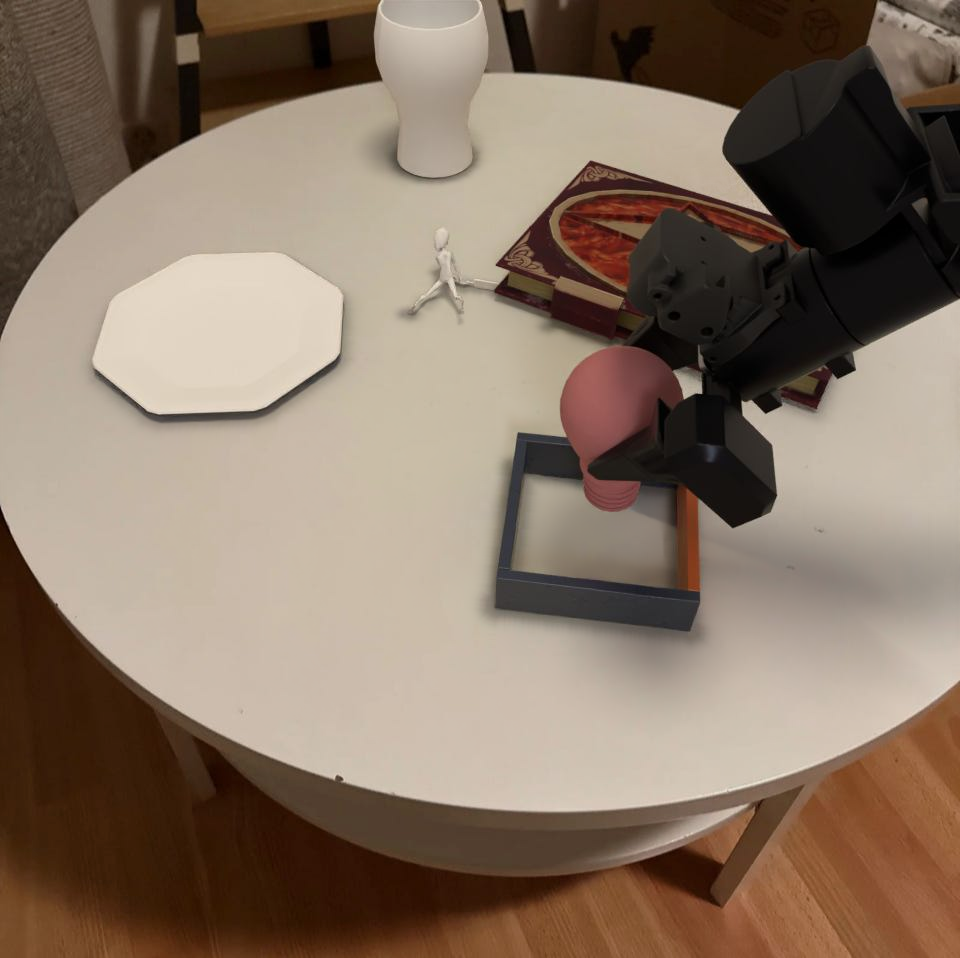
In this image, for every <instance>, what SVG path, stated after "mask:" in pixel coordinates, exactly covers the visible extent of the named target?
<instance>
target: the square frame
mask: <svg viewBox="0 0 960 958" xmlns="http://www.w3.org/2000/svg"><path fill="white" fill-rule="evenodd" d="M511 466H512V467H511V473H510V479H509V480H510V481H509V486H508V487H509V488H508V494H507V495H508V496H507V499H506V508H505V514H504V521H503V529H502V535H501V540H500V541H501V542H500V549H499V554H498V563H497V570H496V576H495V596H494V609H497V610H504V611H512V612H513V611H514V612H522V613H530V614H531V613H532V614H539V615H545V616H547V615H548V616H555V617H564V618H573V619H582V620H589V621H598V622H606V623H613V624H623V625H630V626H631V625H632V626H640V627H649V628H657V629H658V628H659V629H666V630H674V631H683V632H691V630H692V627H693V625H694V621H695V620H696V616H697V613H698V610H699V607H700V604H701V573H700V572H701V569H700V566H701V565H700V532H699V531H700V529H699V528H700V527H699V499H698V498H697V497H696V496H695V495H694V494H693V493H692V492H690V491H689V490H688V489H687V488H686V487H685V486H684V485H682V484H676V483H665V482H641V484H640V486H643V487H651V488H653V487H654V488H661V489H662V488H663V489H670V490H676V545H677V546H676V547H677V551H676V553H677V554H676V555H677V563H676V565H677V567H676V569H677V571H676V572H677V588H668V587H660V586H651V585H643V584H634V583H627V582H626V583H625V582H617V581H607V580H600V579H591V578H582V577H574V576H573V577H572V576H565V575H556V574H547V573H539V572H530V571H521V570H513V567H514V560H515V554H516V545H517V539H518V538H517V537H518V530H519V521H520V515H521V509H522V500H523V492H524V486H525V478H526V474H530V475H539V476H540V475H541V476H549V477H550V476H551V477H558V478H566V479H576V480H577V479H578V480H583V472H582V471H581V467H580V457H579V456H578V455H577V453H576V452H575V450H574V449H573V447H572V445H571V443H570V442H569V440H568V438H567V436H558V435H548V434H541V433H540V434H539V433H538V434H537V433H530V432H522V431H521V432H520V431H517V433H516V439H515V446H514V453H513V460H512V465H511Z"/></svg>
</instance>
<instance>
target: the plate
mask: <svg viewBox="0 0 960 958" xmlns="http://www.w3.org/2000/svg"><path fill="white" fill-rule="evenodd" d="M344 297H345V296H344V293H343V291H342V290H341V288H339V287H337V286H336V285H334V284H333V283H331V282H329V281H328V280H326V279H325V278H323V277H321V276H320V275H318V274H317V273H315V272H313V271H311V270H310V269H309V268H307V267H305V266H304V265H302V264H301V263H299V262H298V261H296V260H295V259H292V258H291V257H290V256H288V255H286V254H285V253H280V252H277V251H270V252H269V251H267V252H266V251H265V252H264V251H263V252H232V253H231V252H230V253H229V252H228V253H198V254H192V255H188V256H184V257H182V258H179V260H177V261H175V262H173V263H171V264H170V265H168V266H166V267H164V268H162V269H160V270H159V271H157V272H154V274H152V275H150V276H148V277H146V278H144V279H143V280H141V281H138V282H137V283H135V284H134V285H132V286H129V287H128V288H127V289H125V290H122V291H120V292H118V293H117V294H116V295H115V296H114V297H113V298H112V299H111V300H110V301H109V302H108V306H107V310H106V313H105V316H104V320H103V324H102V326H101V329H100V332H99V335H98V339H97V342H96V345H95V347H94V351H93V354H92V358H91V363H92V365H93V368H94V370H95V371H96V372H97V373H99V374H100V375H101V376H102V377H104V378H105V380H107V381H108V382H110V383H111V384H112V385H114V386H115V387H116V388H117V389H119V390H120V392H122V393H123V394H124V395H126V396H127V397H128V398H130V400H132V401H133V402H135V403H136V404H137V405H138V406H139V407H141V408H142V409H143V410H144V411H145V412H146V413H148V414H150V415H154V416H158V417H177V416H178V417H179V416H181V417H182V416H205V415H206V416H207V415H208V416H209V415H231V414H233V415H236V414H255V413H258V412H261V411H264V410H267V409H269V408H270V407H272V406H273V405H274V404H276V403H277V402H279V401H280V400H282V399H283V398H284V397H286V396H288V395H289V394H290V393H292V392H293V391H295V390H296V389H298V388H299V387H300V386H302V385H303V384H305V383H307V382H308V381H310V380H311V379H312V378H314V377H315V376H317V375H318V374H320V373H321V372H322V371H324V370H325V369H327V368H328V367H330V366H331V365H333V364H334V363H336V361H337V360H338V358H339V357H340V355H341V351H342V350H341V349H342V348H341V347H342V332H343V317H344V316H343V315H344Z"/></svg>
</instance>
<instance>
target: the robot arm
mask: <svg viewBox="0 0 960 958" xmlns="http://www.w3.org/2000/svg"><path fill="white" fill-rule="evenodd" d="M888 79H889V78H888V77H887V73H886V70H885V67H884V66H883V64H882V61H881V60H880V59H879V57H878V56H877V54H876V52H875V51H874V50H873V48H872V46H870V45H862V46H860V47H858V48H857V49H855V50H854V51H853V52H851V53H850V54H848V55H847V56H846V57H844V58H843V59H841V60H838V59H831V58H825V59H819V60H815V61H813V62H810V63H806V64H804V65H802V66H801V67H798V68H796V69H795V70H793V71H791V70H790V69H787V70H784V71H783V72H782V73H780V74H778V75H777V76H775V77H774V78H773V79H771V80H770V81H769V82H768V83H767V84H764V86H763V87H762V88H760V89H759V90H758V91H757V92H756V93H755V94H754V95H753V96H752V97H751V98H750V99H749V100H748V101H747V102H746V104H745V105H744V106H743V107H742V108H741V109H740V110H739V112H738V113H737V114H736V115H735V117H734V119H733V121H732V122H731V123H730V125H729V126H728V130H727V131H726V133H725V135H724V138H723V141H722V142H723V143H722V148H721V151H722V155H723V157H724V159H725V160H726V162H727V163H728V164H729V165H730V166H731V168H732V169H733V170H734V172H735V173H736V174H737V175H738V176H739V177H740V178H741V180H742V181H743V182H744V183H745V185H746V186H747V187H748V188H749V190H750V191H751V192H752V193H753V194H754V195H755V197H756V198H757V199H758V200H759V201H760V203H761V204H762V205H763V206H764V208H765V209H766V210H767V211H768V212H769V213H770V215H772V216H773V217H774V218H775V219H776V221H777V222H778V223H779V224H780V225H781V227H782V228H783V229H784V230H785V231H786V233H787V234H788V235H789V236H790V237H791V239H792V240H793V241H794V242H795V243H796V244H798V245H800V246H801V247H806V248H804V249H802V250H801V251H799V252H797V251H796V250H795V249H794V248H793V246H792V245H791V244H790V243H789V242H788V240H787V239H786V240H784V241H782V242H781V243H778V242H777V241H774V242H771V243H770V244H768V245H766V246H765V247H763V248H761V249H759V250H757V251H754V252H750V251H748V250H746V249H745V248H743V247H741V246H739V245H738V244H737V243H736V242H735V241H734V240H733V239H731V238H730V237H728V236H727V235H725V234H723V233H721V232H720V230H719V229H718V228H717V227H716V226H715V225H714V224H710V223H702V222H700V221H698V220H696V219H694V218H692V217H690V216H688V215H686V214H684V213H682V212H680V211H678V210H676V209H673V208H665V209H664V210H662V212H661V213H660V214H659V216H658V217H657V218H656V220H655V221H654V222H653V224H652V225H651V226H650V228H649V229H648V230H647V232H646V233H645V234H644V236H643V237H642V239H641V240H640V241H639V243H638V244H637V245H636V247H635V248H634V249H633V251H632V252H631V253H630V255H629V258H628V263H629V264H630V275H629V284H628V286H627V297H628V300H629V302H630V303H631V304H632V306H633V307H634V308H635V309H637V310H638V311H639V312H641V313H643V314H645V315H647V316H646V317H645V318H644V320H643V321H642V322H641V323H640V325H639V326H638V327H637V328H636V330H635V331H634V332H633V333H632V334H631V335H630V337H629V338H628V339H627V340H624V342H623V343H622V344H621V346H631V347H637V348H641V349H644V350H646V351H649V352H651V353H653V354H654V355H656V356H658V357H659V358H660V359H662V360H663V361H664V362H665V363H666V364H667V365H668V366H669V367H670V368H671V370H672V371H673V372H675V371H677V370H681V369H683V368H687V367H686V366H690V365H693V364H696V363H699V367H700V369H701V372H700V373H701V393H697V392H695V393H693V394H690V396H688V397H686V398H684V400H682V401H680V402H678V403H677V404H676V406H675V407H674V408H673V409H672V408H671V407H669V406H668V405H667V404H666V403H665V402H664V401H663V400H662V399H661V398H660V397H659V398H658V399H657V400H656V404H655V409H654V413H653V418H652V422H651V424H650V425H649V426H647V427H646V428H644V429H642V430H641V431H639V432H637V433H636V434H634V435H632V436H631V437H629V438H628V439H626V440H624V441H623V442H621V443H619V444H618V445H616V446H614V447H613V448H611V449H610V450H608V451H606V452H605V453H603V454H602V455H600V456H599V457H598V458H596V459H595V460H594V461H592V462H591V463H590V464H589V465H588V466H587V472H588V473H589V474H590V475H592V476H593V477H594V478H595V479H597V480H608V481H640V482H665V483H676V484H682V485H684V486H685V487H686V488H687V489H688V490H689V491H690V492H692V493H693V494H694V495H695V496H696V497H697V498H698V500H699V501H701V502H702V503H703V504H704V505H705V506H706V507H707V508H708V509H710V510H711V511H712V512H713V513H714V514H715V515H716V516H718V517H719V518H720V519H721V520H723V522H724V523H726V524H727V525H728V526H729V527H730V528H731V529H736V528H738V527H741V526H743V525H745V524H748V523H750V522H752V521H755V520H758V519H760V518H762V517H765V516H766V515H768V514H770V513H771V512H772V510H773V508H774V506H775V504H776V503H775V502H776V500H777V497H778V490H777V488H778V487H777V479H776V468H775V457H774V449H773V448H774V447H773V444H772V443H771V442H770V441H769V440H768V439H767V438H766V437H765V436H764V435H763V434H762V433H761V432H760V431H759V430H758V429H757V428H756V427H755V426H754V425H753V424H752V423H751V422H750V421H749V420H748V419H747V418H746V417H745V416H744V413H743V412H744V411H743V402H744V403H748V402H750V401H752V402H753V403H754V404H755V405H756V407H758V408H759V409H760V411H762V413H764V414H765V415H766V414H769V413H771V412H773V411H776V410H777V409H779V408H781V407H783V399H782V398H783V397H781V389H780V388H782V387H784V386H786V385H788V384H790V383H792V382H794V381H796V380H798V379H800V378H802V377H804V376H806V375H808V374H810V373H812V372H814V371H816V370H818V369H820V368H822V367H824V366H826V367H827V368H828V369H829V371H830V372H831V373H832V375H833V376H834V377H835V378H836V380H839V379H842V378H843V377H846V376H848V375H850V374H852V373H854V372H857V368H856V367H857V366H856V362H855V357H854V353H855V352H857V351H859V350H861V349H863V348H865V347H867V346H868V345H870V344H872V343H875V342H877V341H879V340H880V339H883V338H884V337H886V336H889V335H891V334H893V333H894V332H897V331H899V330H901V329H904V327H907V326H910V325H911V324H913V323H915V322H917V321H919V320H921V319H923V318H925V317H927V316H929V315H931V314H933V313H935V312H937V311H940V310H941V309H943V308H945V307H947V306H950V305H951V304H953V303H955V302H957V301H959V300H960V103H950V104H949V103H947V104H933V105H932V104H931V105H919V106H918V105H917V106H909V107H907V108H905V107H904V105H903V103H902V102H901V100H900V99H899V98H898V96H897V95H896V93H895V92H894V89H893V88H892V87H891V85H890V83H889V80H888Z"/></svg>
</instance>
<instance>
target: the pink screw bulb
mask: <svg viewBox="0 0 960 958" xmlns="http://www.w3.org/2000/svg"><path fill="white" fill-rule="evenodd" d="M561 391H562V392H561V395H560V401H559V417H560V422H561V427H562V429H563V431H564V434H565V437H567V438H568V440H569V442H570V443H571V445H572V447H573V449H574V450H575V452H576V453H577V455H578V456H579V457H580V467H581V471H582V472H583V479H582V481H583V482H582V483H583V494H584V497H585V499H586V501H587V502H588V503H589V504H591V506H593V507H595V508H596V509H597V510H600V511H603V512H609V513H617V512H621V511H624V510H627V509H628V508H630V507H631V506H632V505H633V504H634V503H635V502H636V501H637V497H638V493H639V490H640V487H641V485H640V484H641V482H640V481H608V480H597V479H595V478H594V477H593V476H592V475H590V474H589V473H588V472H587V466H588V465H589V464H590V463H591V462H592V461H594V460H595V459H596V458H598V457H599V456H600V455H602V454H603V453H605V452H606V451H608V450H610V449H611V448H613V447H614V446H616V445H618V444H619V443H621V442H623V441H624V440H626V439H628V438H629V437H631V436H632V435H634V434H636V433H637V432H639V431H641V430H642V429H644V428H646V427H647V426H649V425H650V424H651V422H652V418H653V413H654V409H655V404H656V400H657V399H658V398H659V397H660V398H661V399H662V400H663V401H664V402H665V403H666V404H667V405H668V406H669V407H671V408H672V409H673V408H674V407H675V406H676V404H677V403H678V402H680V401H682V400H684V399H685V398H684V393H683V388H682V386H681V384H680V381H679V379H678V377H677V375H676V374H675V371H672V370H671V368H670V367H669V366H668V365H667V364H666V363H665V362H664V361H663V360H662V359H660V358H659V357H658V356H656V355H654V354H653V353H651V352H649V351H646V350H644V349H641V348H637V347H631V346H622V345H615V346H609V347H606V348H602V349H600V350H597V351H595V352H593V353H591V354H590V355H588V356H586V357H585V358H584V359H582V360H581V361H580V362H579V363H578V364H577V365H576V366H575V367H574V368H573V369H572V371H571V372H570V374H569V376H568V377H567V379H566V380H565V383H564V386H563V388H562V390H561Z"/></svg>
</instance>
